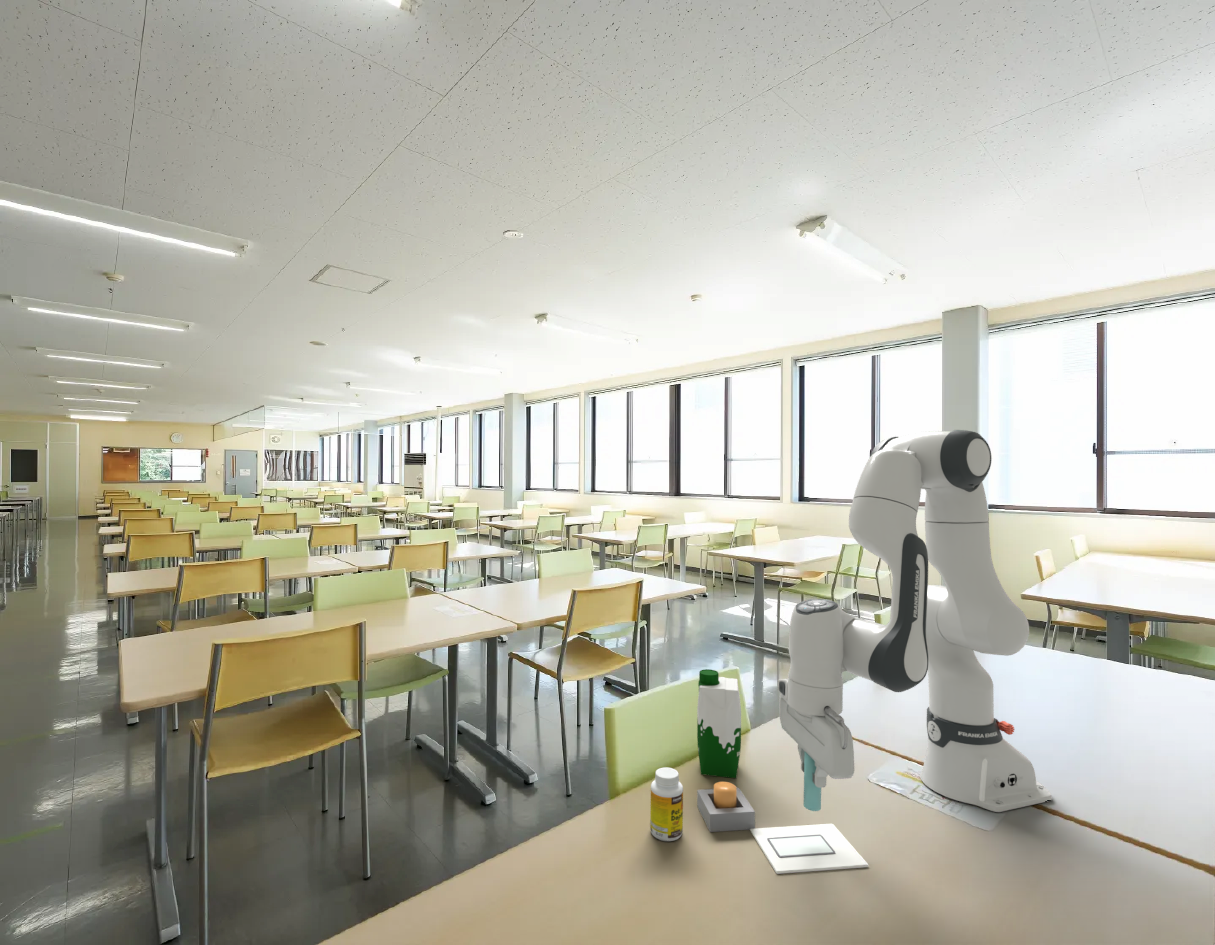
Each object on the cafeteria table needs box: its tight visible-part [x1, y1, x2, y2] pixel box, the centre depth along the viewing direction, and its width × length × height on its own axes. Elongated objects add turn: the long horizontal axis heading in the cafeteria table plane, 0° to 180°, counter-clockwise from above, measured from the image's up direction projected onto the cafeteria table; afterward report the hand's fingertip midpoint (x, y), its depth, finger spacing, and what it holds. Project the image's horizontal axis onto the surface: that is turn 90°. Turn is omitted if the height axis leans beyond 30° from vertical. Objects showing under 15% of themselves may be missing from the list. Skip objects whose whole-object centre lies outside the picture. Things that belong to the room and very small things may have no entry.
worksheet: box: [749, 823, 869, 875], centre depth 94 cm, size 15×11×1 cm
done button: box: [713, 781, 738, 809], centre depth 103 cm, size 4×4×3 cm
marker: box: [802, 752, 822, 812], centre depth 98 cm, size 3×3×10 cm
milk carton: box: [696, 669, 742, 779], centre depth 121 cm, size 9×9×20 cm
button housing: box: [696, 787, 756, 833], centre depth 103 cm, size 8×8×3 cm
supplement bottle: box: [649, 766, 684, 842], centre depth 98 cm, size 6×6×10 cm
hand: (813, 779), depth 97 cm, fingers closed on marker, 3 cm apart
